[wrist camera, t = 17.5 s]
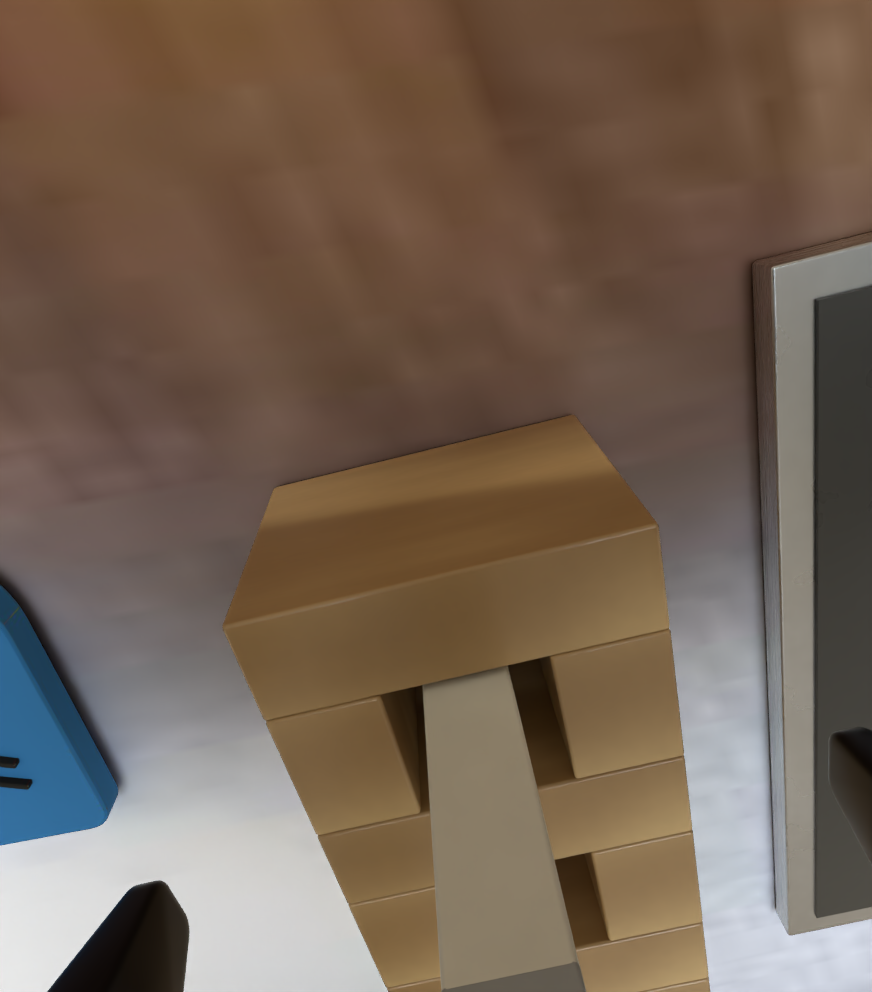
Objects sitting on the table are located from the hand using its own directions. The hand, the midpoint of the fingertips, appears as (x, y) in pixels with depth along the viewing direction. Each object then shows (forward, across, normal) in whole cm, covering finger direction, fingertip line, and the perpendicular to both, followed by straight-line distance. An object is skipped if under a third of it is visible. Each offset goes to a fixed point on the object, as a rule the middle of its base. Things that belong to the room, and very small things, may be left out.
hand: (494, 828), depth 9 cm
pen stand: (+7, 0, +5) cm, 9 cm away
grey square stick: (+7, 0, 0) cm, 7 cm away
